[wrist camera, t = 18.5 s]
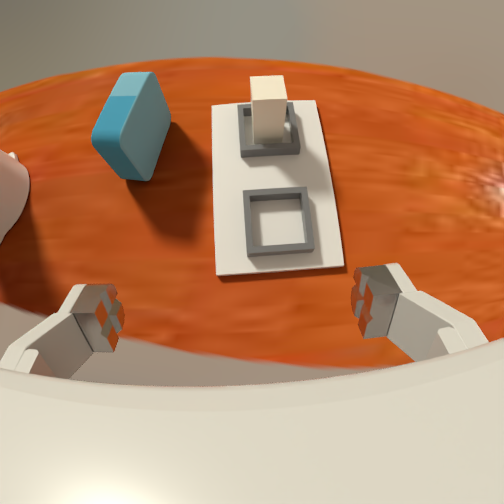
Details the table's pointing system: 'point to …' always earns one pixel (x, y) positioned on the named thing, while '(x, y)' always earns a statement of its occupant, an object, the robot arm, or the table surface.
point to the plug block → (268, 108)
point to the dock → (272, 194)
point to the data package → (133, 126)
